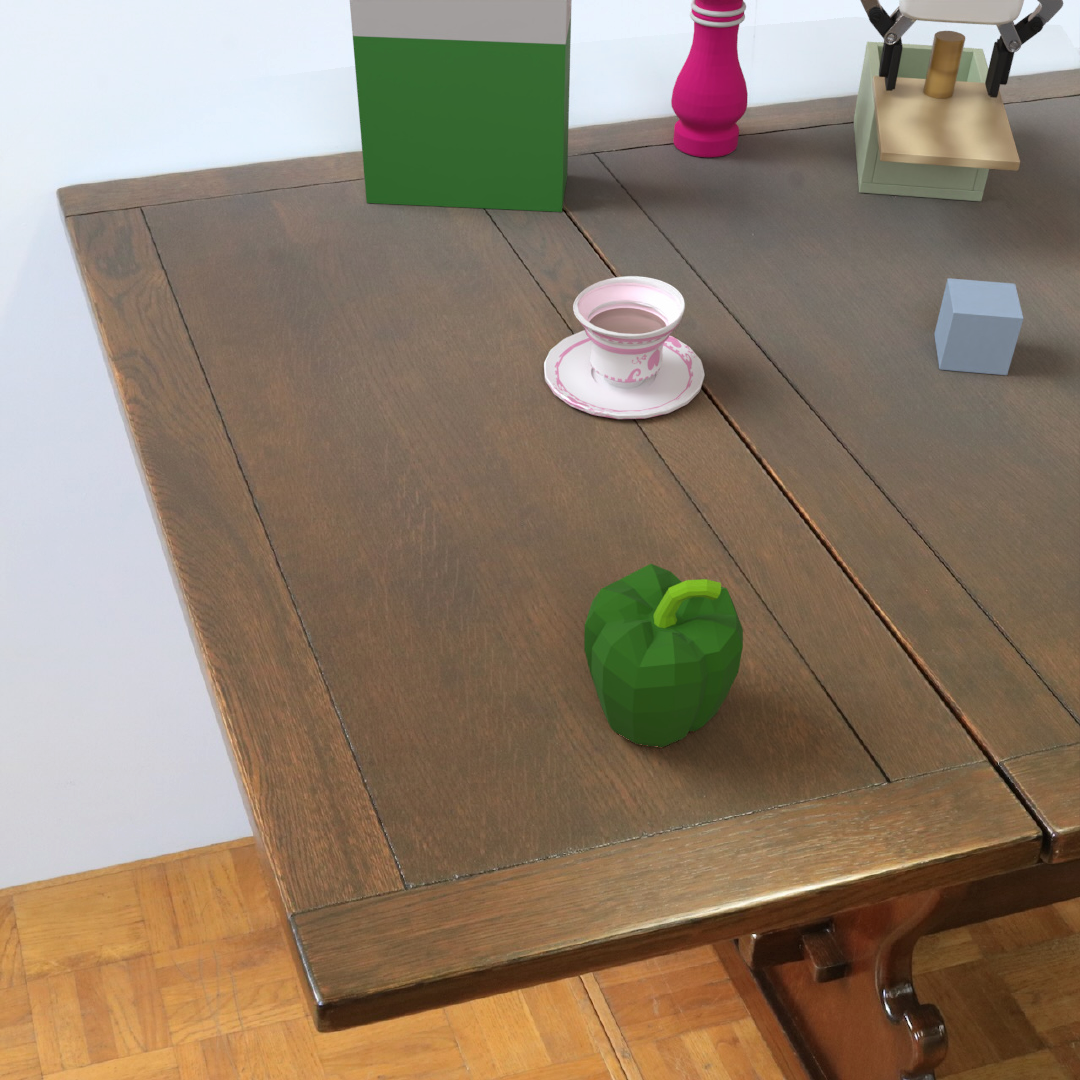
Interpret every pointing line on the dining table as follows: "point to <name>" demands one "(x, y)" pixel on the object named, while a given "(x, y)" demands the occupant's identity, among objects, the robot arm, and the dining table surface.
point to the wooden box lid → (943, 116)
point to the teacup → (625, 352)
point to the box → (910, 175)
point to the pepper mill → (711, 82)
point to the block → (978, 326)
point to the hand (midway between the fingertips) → (939, 87)
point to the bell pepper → (662, 653)
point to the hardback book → (464, 101)
